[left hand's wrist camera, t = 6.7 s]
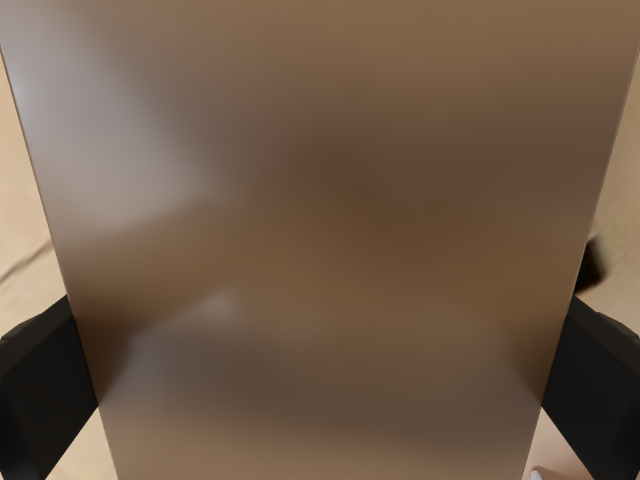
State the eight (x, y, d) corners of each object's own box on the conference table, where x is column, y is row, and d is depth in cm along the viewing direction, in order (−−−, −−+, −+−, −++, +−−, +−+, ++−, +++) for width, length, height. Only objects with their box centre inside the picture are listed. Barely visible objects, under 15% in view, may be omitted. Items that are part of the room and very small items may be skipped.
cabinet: (137, -217, 11) (-283, -954, 3) (501, -217, 11) (919, -950, 3) (206, 320, 18) (119, 489, 10) (433, 320, 18) (520, 489, 10)
